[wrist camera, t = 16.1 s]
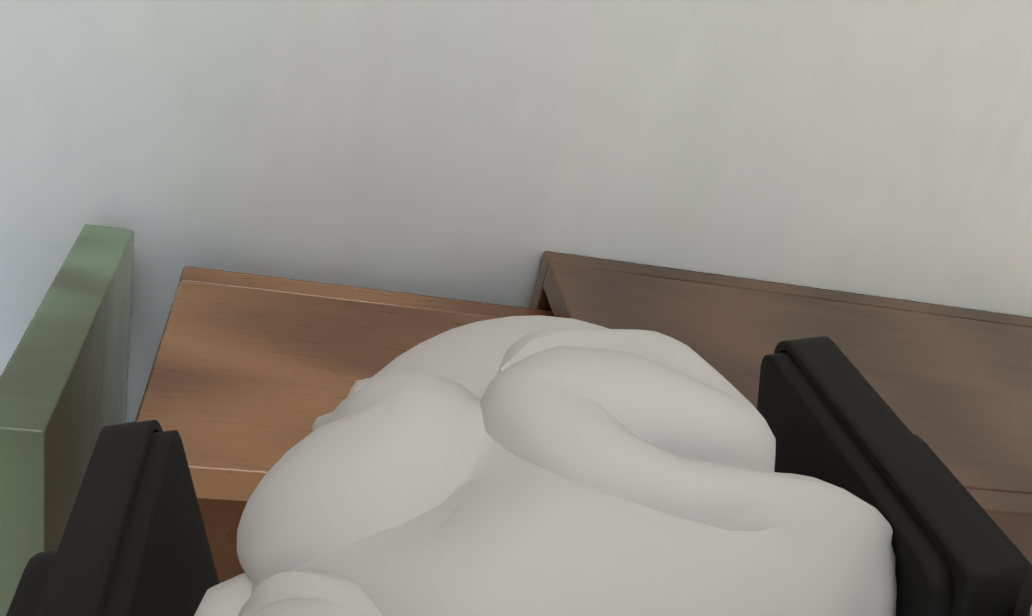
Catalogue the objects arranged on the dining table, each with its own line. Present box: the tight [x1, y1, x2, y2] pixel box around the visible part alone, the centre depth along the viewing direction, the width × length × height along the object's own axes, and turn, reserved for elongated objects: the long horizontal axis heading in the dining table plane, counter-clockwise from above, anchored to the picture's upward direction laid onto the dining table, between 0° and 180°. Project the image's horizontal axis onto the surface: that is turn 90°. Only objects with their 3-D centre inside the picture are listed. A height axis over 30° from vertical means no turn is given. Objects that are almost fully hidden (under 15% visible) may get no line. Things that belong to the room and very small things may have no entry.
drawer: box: [0, 224, 554, 616], centre depth 25 cm, size 22×12×9 cm, turn 77°
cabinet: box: [530, 251, 1032, 564], centre depth 29 cm, size 18×14×11 cm
